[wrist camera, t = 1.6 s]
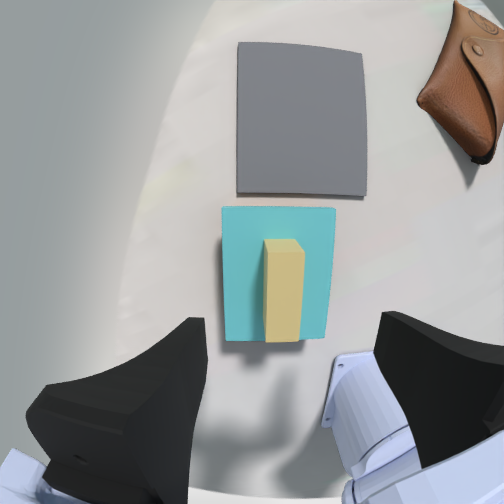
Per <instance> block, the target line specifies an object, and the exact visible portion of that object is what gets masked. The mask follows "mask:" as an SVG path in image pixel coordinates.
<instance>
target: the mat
mask: <svg viewBox="0 0 504 504" xmlns="http://www.w3.org/2000/svg"><path fill="white" fill-rule="evenodd" d="M366 191H367V115H366V96H365V81H364V70H363V60H362V54H361V53H356V52H351V51H345V50H339V49H332V48H326V47H318V46H309V45H299V44H287V43H268V42H238V121H237V193H242V192H257V193H312V194H337V195H356V196H366Z"/></svg>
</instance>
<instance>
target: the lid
mask: <svg viewBox="0 0 504 504" xmlns="http://www.w3.org/2000/svg"><path fill="white" fill-rule="evenodd" d="M335 221H336V209H334V208H329V207H286V206H223V207H222V252H223V286H224V313H225V336H226V341H266V342H297V341H299V340H302V339H320V338H324V337H325V329H326V322H327V314H328V305H329V296H330V286H331V276H332V265H333V252H334V238H335Z"/></svg>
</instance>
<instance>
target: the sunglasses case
mask: <svg viewBox="0 0 504 504" xmlns="http://www.w3.org/2000/svg"><path fill="white" fill-rule="evenodd" d="M417 102H418V105H419V106H420V108H421V109H423V110H425V111H426V112H427V113H429V114H430V115H431V116H432V117H433V118H434V119H435V120H436V121H437V122H438V123H439V124H440V125H441V126H442V127H443V128H444V129H445V130H446V131H447V132H448V133H449V134H450V135H451V136H452V137H453V139H455V141H456V142H457V143H458V144H459V145H460V146H461V147H462V148H463V149H464V151H465V152H466V153H467V154H468V155H469V156H471V157H472V159H471V161H472V162H474V163H477V164H481V165H485V164H488V163H489V162H490V161H491V160H492V159H493V156H494V154H495V150H496V146H497V141H498V139H499V136H500V133H501V130H502V127H503V123H504V30H502V29H501V28H499V27H498V26H497V25H495V24H494V23H492V22H490V21H489V20H487V19H486V18H484V17H482V16H481V15H479V14H477V13H476V12H474V11H472V10H470V9H469V8H466V7H464V6H462V5H461V4H459V3H458V1H457V0H455V1H454V4H453V16H452V21H451V25H450V29H449V31H448V34H447V37H446V40H445V43H444V45H443V49H442V51H441V53H440V55H439V58H438V61H437V63H436V65H435V68H434V70H433V73H432V74H431V76H430V78H429V80H428V81H427V83H426V85H425V87H424V88H423V89H422V90H421V92H420V93H419V95H418V98H417Z"/></svg>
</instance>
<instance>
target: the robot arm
mask: <svg viewBox="0 0 504 504" xmlns="http://www.w3.org/2000/svg"><path fill="white" fill-rule="evenodd" d="M339 364H342V365H340V366H338V365H339ZM207 365H208V356H207V345H206V333H205V321H204V318H196V317H189V318H187V319H186V320H185V321H184V322H182V323H181V324H180V325H179V326H178V327H177V328H175V329H174V330H173V331H172V332H171V333H169V334H168V335H167V336H166V337H164V338H163V339H162V340H160V341H159V342H158V343H156V344H155V345H153V346H152V347H151V348H149V349H148V350H146V351H145V352H143V353H142V354H140V355H138V356H137V357H135V358H133V359H131V360H129V361H127V362H125V363H123V364H121V365H119V366H116V367H114V368H112V369H109V370H107V371H104V372H102V373H99V374H96V375H93V376H89V377H86V378H82V379H78V380H74V381H69V382H62V383H56V384H50V385H46V387H45V388H44V389H43V390H42V391H41V393H40V394H39V395H38V397H37V398H36V399H35V400H34V402H33V403H32V404H31V406H30V407H29V408H28V410H27V411H26V420H27V424H28V427H29V429H30V431H31V432H32V434H33V435H34V437H35V438H36V440H37V441H38V443H39V444H40V446H41V447H42V448H43V449H44V451H45V452H46V454H47V455H48V456H49V458H50V459H51V461H50V462H49V464H48V466H46V465H44V464H43V463H41V462H40V461H39V460H37V459H35V458H33V457H31V456H29V455H27V454H25V453H23V452H21V451H19V450H17V449H15V448H12V449H11V451H10V453H9V454H8V456H7V457H6V459H5V460H4V462H3V464H2V465H1V467H0V504H187V503H188V484H189V469H190V458H191V448H192V439H193V432H194V427H195V422H196V418H197V414H198V410H199V406H200V402H201V398H202V394H203V390H204V386H205V382H206V374H207ZM321 425H322V427H323V428H329V427H331V428H332V431H333V434H334V437H335V441H336V444H337V447H338V451H339V454H340V457H341V461H342V464H343V467H344V469H345V471H346V472H347V473H348V474H349V475H350V476H351V477H353V478H354V479H351V480H349V481H348V482H347V483H346V484H345V487H344V491H343V493H342V504H504V346H500V345H493V344H487V343H482V342H477V341H473V340H470V339H466V338H463V337H459V336H456V335H453V334H451V333H448V332H446V331H443V330H440V329H438V328H436V327H433V326H431V325H429V324H426V323H424V322H422V321H420V320H417V319H415V318H413V317H410V316H408V315H405V314H403V313H400V312H396V311H388V312H382V315H381V320H380V325H379V329H378V334H377V338H376V343H375V347H374V351H370V352H362V353H353V354H343V355H339V356H337V357H336V359H335V363H334V368H333V373H332V378H331V383H330V388H329V392H328V397H327V401H326V406H325V410H324V414H323V418H322V422H321Z"/></svg>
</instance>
